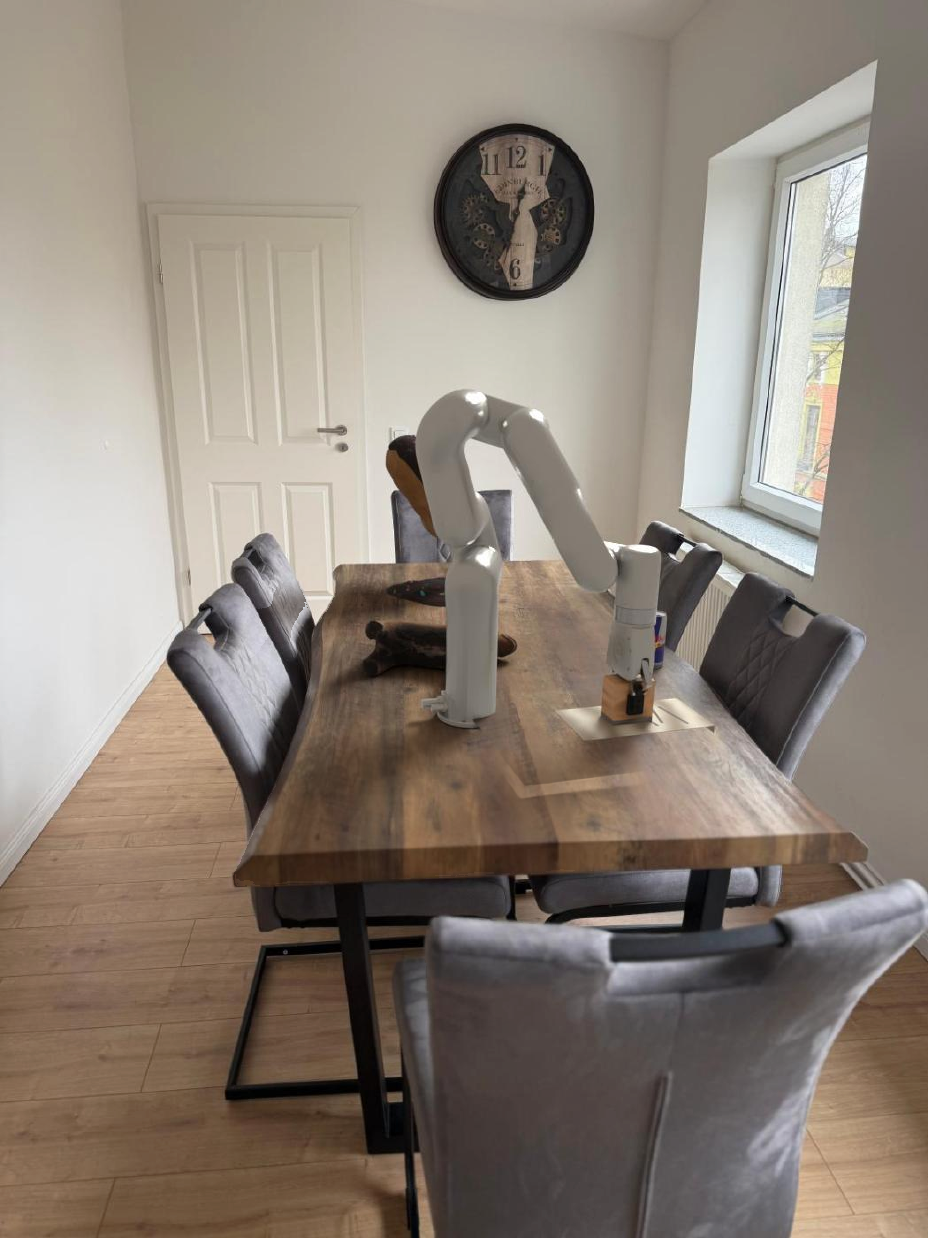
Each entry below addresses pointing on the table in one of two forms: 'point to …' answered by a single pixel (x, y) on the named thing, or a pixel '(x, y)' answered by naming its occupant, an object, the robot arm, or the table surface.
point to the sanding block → (623, 701)
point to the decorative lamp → (411, 486)
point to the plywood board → (664, 719)
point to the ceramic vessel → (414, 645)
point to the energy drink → (659, 638)
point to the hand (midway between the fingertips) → (627, 707)
